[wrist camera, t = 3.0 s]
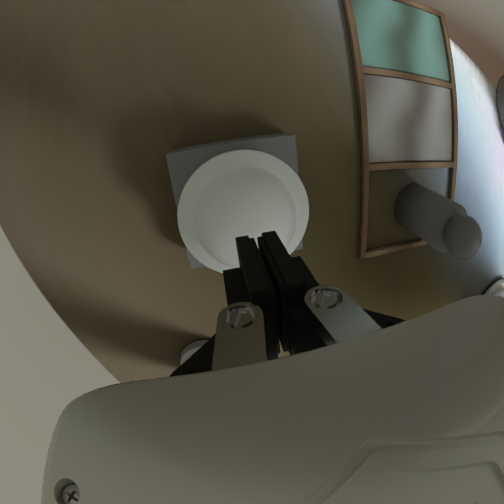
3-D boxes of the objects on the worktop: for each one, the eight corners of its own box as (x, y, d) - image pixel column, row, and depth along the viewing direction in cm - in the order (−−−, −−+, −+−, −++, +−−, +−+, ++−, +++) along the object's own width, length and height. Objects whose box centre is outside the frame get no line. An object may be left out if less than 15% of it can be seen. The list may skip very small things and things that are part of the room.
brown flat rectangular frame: (440, 13, 16) (443, 13, 15) (445, 237, 28) (447, 239, 28) (338, -17, 15) (340, -19, 14) (358, 257, 27) (360, 259, 27)
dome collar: (284, 132, 21) (295, 135, 18) (292, 234, 25) (302, 249, 22) (171, 149, 20) (165, 154, 18) (192, 251, 24) (191, 269, 22)
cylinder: (428, 182, 25) (496, 216, 16) (424, 223, 27) (485, 265, 18) (395, 185, 24) (466, 222, 16) (392, 229, 27) (454, 277, 18)
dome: (287, 138, 19) (325, 149, 13) (295, 241, 23) (327, 288, 17) (172, 155, 19) (155, 174, 12) (194, 259, 22) (192, 313, 16)
